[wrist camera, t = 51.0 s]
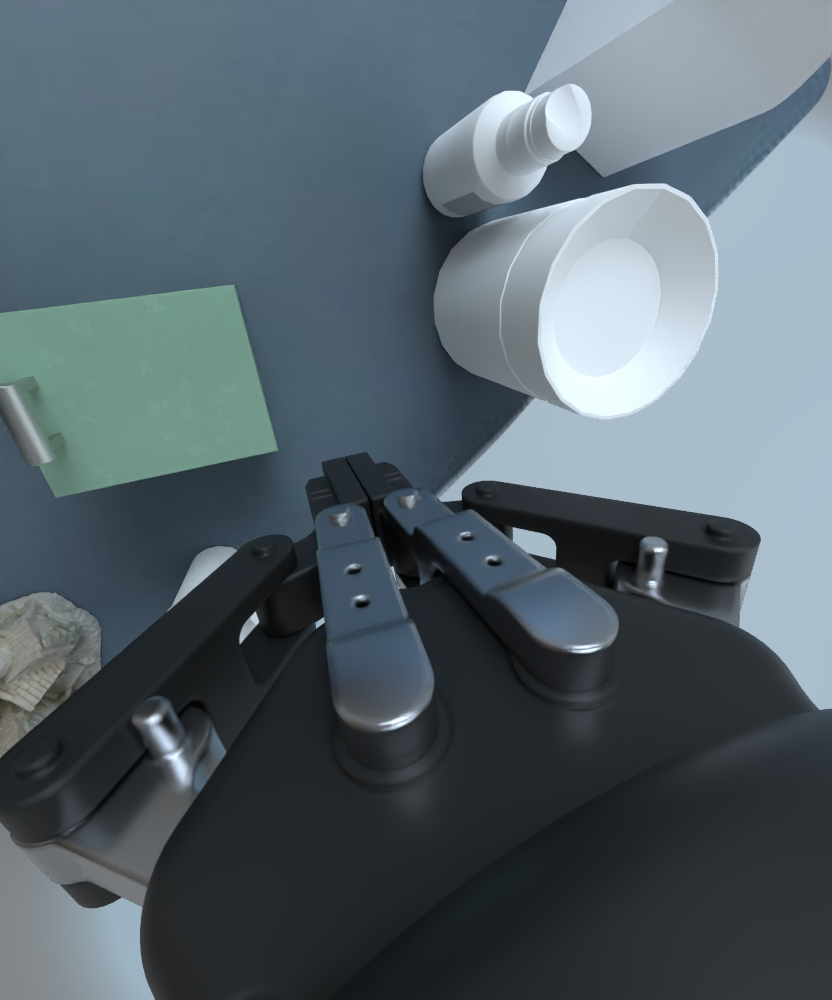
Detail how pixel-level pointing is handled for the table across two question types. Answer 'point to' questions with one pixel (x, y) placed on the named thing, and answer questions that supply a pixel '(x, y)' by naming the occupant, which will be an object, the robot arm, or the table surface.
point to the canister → (583, 298)
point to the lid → (131, 388)
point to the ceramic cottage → (42, 659)
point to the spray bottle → (503, 149)
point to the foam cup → (202, 569)
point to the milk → (678, 67)
